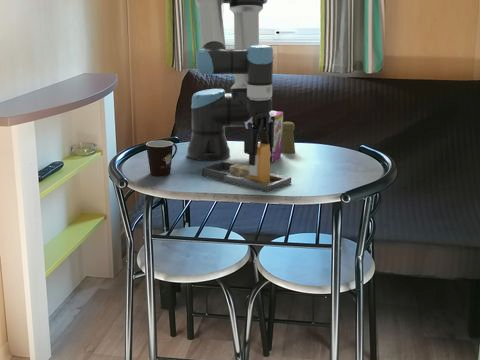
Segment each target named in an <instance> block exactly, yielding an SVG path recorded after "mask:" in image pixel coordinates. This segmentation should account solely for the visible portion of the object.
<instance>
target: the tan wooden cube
mask: <svg viewBox="0 0 480 360" xmlns="http://www.w3.org/2000/svg"><path fill="white" fill-rule="evenodd" d="M240 177H244V178H249V179H250V174H249V165H246V167H243V168H240Z"/></svg>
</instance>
